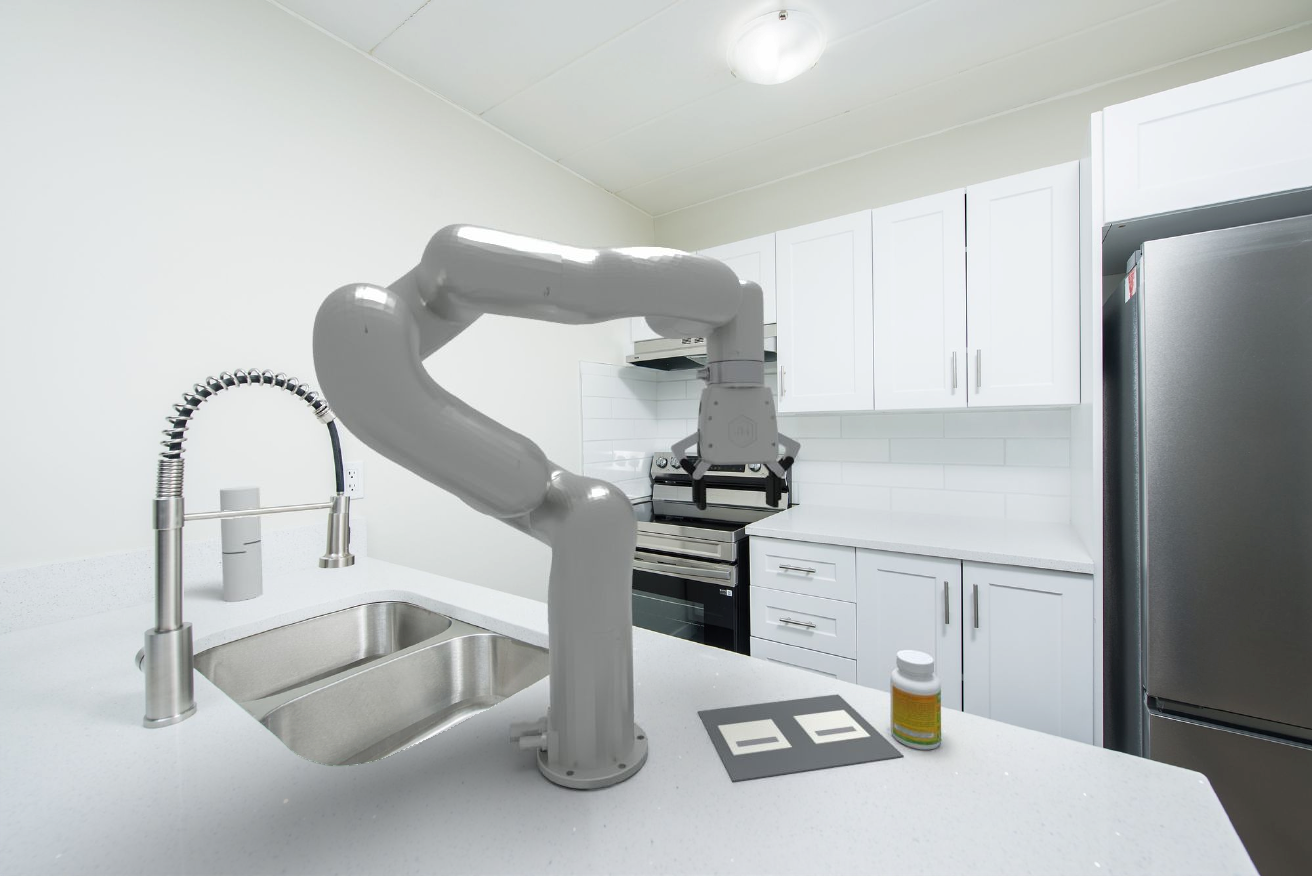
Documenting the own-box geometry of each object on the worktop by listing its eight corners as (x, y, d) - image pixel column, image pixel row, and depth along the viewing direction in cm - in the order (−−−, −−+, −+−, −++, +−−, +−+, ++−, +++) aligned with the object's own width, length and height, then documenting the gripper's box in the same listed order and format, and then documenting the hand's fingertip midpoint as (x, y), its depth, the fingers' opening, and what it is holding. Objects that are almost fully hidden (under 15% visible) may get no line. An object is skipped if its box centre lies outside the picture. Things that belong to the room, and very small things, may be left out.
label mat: (732, 782, 56) (732, 779, 56) (697, 712, 70) (697, 710, 70) (903, 757, 60) (903, 754, 60) (838, 695, 73) (838, 693, 73)
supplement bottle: (947, 753, 60) (947, 668, 60) (896, 748, 61) (896, 664, 61) (933, 727, 65) (932, 648, 65) (886, 723, 66) (885, 645, 66)
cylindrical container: (268, 594, 124) (264, 487, 123) (231, 603, 118) (227, 490, 117) (254, 590, 128) (251, 486, 127) (218, 598, 122) (214, 489, 121)
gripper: (675, 375, 65) (677, 514, 66) (809, 375, 68) (811, 509, 68) (666, 380, 73) (668, 505, 73) (787, 380, 75) (789, 501, 75)
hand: (736, 507), depth 70 cm, fingers open, 9 cm apart
